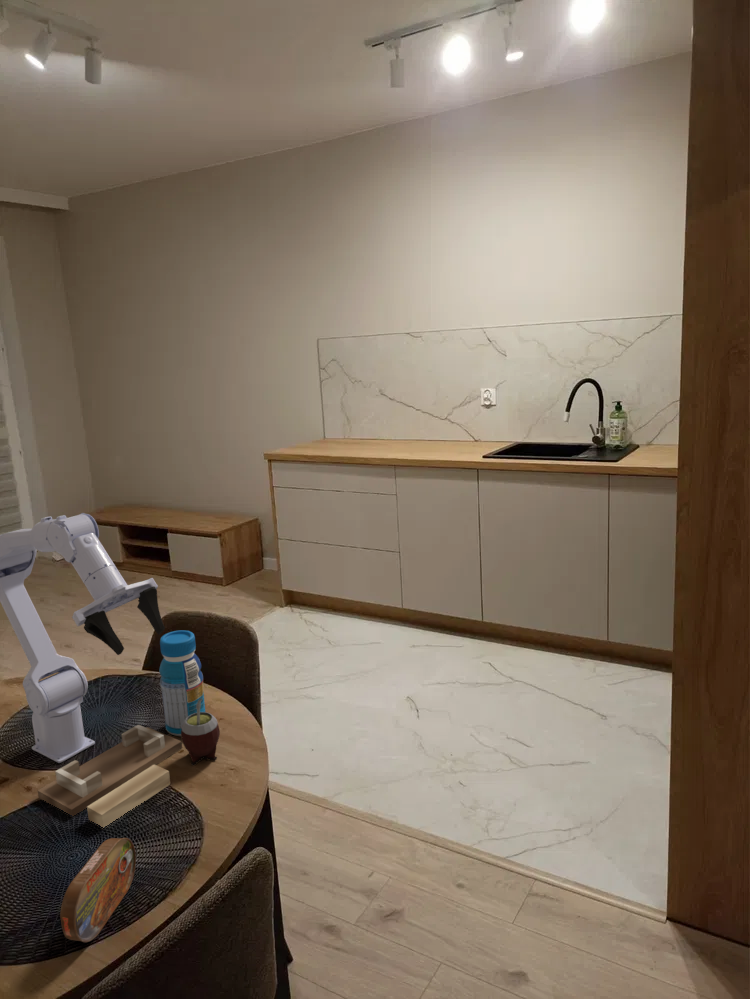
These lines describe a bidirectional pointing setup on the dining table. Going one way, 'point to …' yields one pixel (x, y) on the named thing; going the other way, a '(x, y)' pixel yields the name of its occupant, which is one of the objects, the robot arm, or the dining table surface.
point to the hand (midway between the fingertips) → (141, 641)
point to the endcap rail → (108, 769)
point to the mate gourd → (200, 735)
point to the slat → (128, 795)
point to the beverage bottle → (180, 679)
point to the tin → (98, 889)
